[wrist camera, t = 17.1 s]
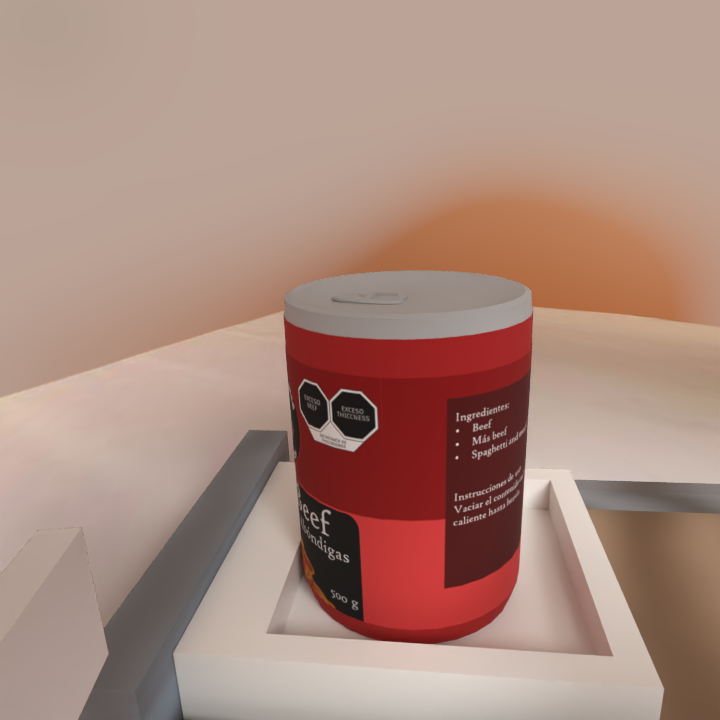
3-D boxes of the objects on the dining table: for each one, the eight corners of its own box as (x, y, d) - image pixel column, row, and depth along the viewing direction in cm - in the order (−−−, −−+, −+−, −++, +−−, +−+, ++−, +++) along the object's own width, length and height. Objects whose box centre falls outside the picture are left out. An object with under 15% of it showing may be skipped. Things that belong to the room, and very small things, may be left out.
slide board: (771, 522, 28) (787, 441, 27) (1145, 922, 13) (1222, 780, 12) (229, 502, 32) (221, 429, 31) (42, 799, 17) (9, 681, 16)
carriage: (565, 517, 28) (569, 469, 27) (653, 760, 16) (664, 689, 16) (282, 507, 29) (278, 461, 29) (183, 719, 18) (173, 653, 17)
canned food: (310, 523, 26) (293, 274, 23) (491, 515, 26) (500, 266, 23) (295, 659, 19) (265, 322, 16) (546, 648, 19) (570, 309, 16)
